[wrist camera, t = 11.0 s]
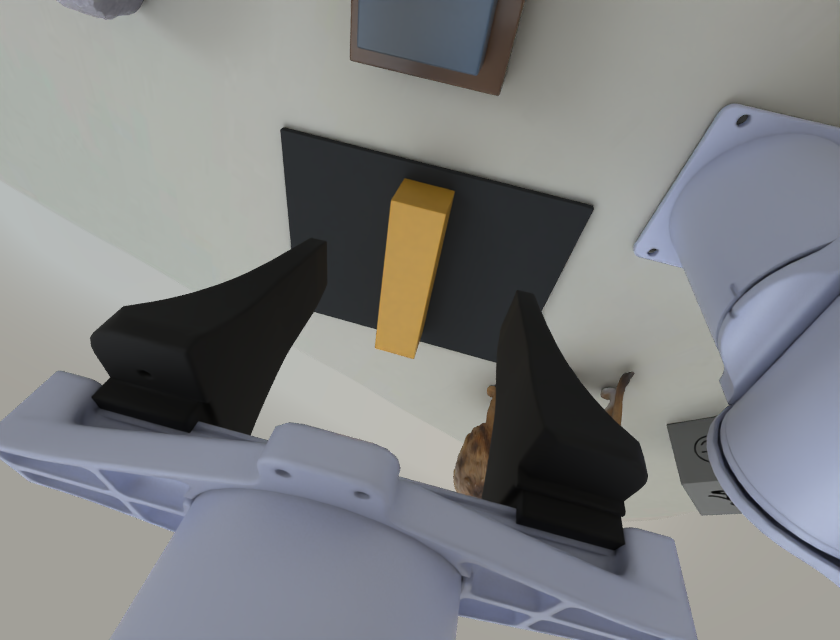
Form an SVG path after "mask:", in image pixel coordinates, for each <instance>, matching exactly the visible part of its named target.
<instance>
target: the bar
mask: <svg viewBox="0 0 840 640" xmlns="http://www.w3.org/2000/svg"><path fill="white" fill-rule="evenodd" d="M454 193H455V191H453V190H449V189H445V188H441V187H437V186H433V185H429V184H425V183H422V182H418V181H414V180H410V179H406V178H404V180H403V182H402V183H401V185H400V187H399V188H398V190H397V191H396V193H395V195H394V196H393V198H392V200H391V206H390V215H389V224H388V233H387V242H386V251H385V260H384V269H383V278H382V287H381V296H380V305H379V315H378V324H377V333H376V342H375V348H376V349H380V350H383V351H387V352H391V353H394V354H398V355H401V356H405V357H408V358H412V359H414V357H415V354H416V351H417V348H418V345H419V342H420V339H421V336H422V332H423V328H424V324H425V319H426V315H427V311H428V306H429V302H430V298H431V293H432V289H433V285H434V280H435V276H436V272H437V267H438V263H439V259H440V254H441V250H442V246H443V241H444V237H445V233H446V228H447V224H448V219H449V215H450V211H451V206H452V202H453V198H454Z"/></svg>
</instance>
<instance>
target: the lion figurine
mask: <svg viewBox="0 0 840 640" xmlns="http://www.w3.org/2000/svg"><path fill="white" fill-rule="evenodd" d="M633 375H634V372H628V373H624V374H623V375H622V376H621V378H620V380H619V382H618V385H617V389H615V388H604V389H602V391H601V397H602V398H604V399H607V400H610V403H609V404H608V406H607V407H606V408H605V409H604V410H605V411H606V412H607V413H608V414H609V415H610V416H611V417H612V418H613V419H614V420H615V421H616V422H617V423H618V424H619V425H620V426H621V418H622V401H623V394H624V391H625V388H626V386H627V385H628V383H629V381H630V379H631V378H632V377H633ZM487 394H488V395H489V396H490V397H493V398H492V400H491V403H490V406H489V409H488V412H487V419H486V423H482V424H481V425H480V426H477V427H474V428H473V430H472V432H471V433H469V434H468V435H467V436H466V438H465V441H464V444H463V446H462V448H461V451H460V453H459V455H458V459H457V462H456V466H455V469H454V476H453V478H454V485H455V489H456V491H457V492H458V493H461V494H465V495H468V496H472V497H476V498H479V499H481V498H482V492H483V487H484V481H485V475H486V469H487V463H488V457H489V450H490V444H491V437H492V430H493V422H494V415H495V403H496V387H495V386H489V387H488V388H487Z"/></svg>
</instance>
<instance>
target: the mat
mask: <svg viewBox="0 0 840 640" xmlns="http://www.w3.org/2000/svg"><path fill="white" fill-rule="evenodd" d="M280 131H281V142H282V153H283V164H284V174H285V185H286V196H287V207H288V218H289V229H290V239H291V249H292V248H294V247H295V246H297V245H299V244H301V243H302V242H304V241H306V240H307V239H309V238H315V239H319V240H323V241H327V286H326V288H325V291H324V293H323V295H322V297H321V299H320V302H319V304H318V306H317V307H316V309H315V311H314V312H317V313H320V314H324V315H327V316H331V317H334V318H338V319H342V320H345V321H349V322H352V323H356V324H360V325H363V326H367V327H370V328H374V329H377V324H378V315H379V305H380V296H381V287H382V278H383V269H384V260H385V251H386V242H387V233H388V224H389V215H390V206H391V200H392V198H393V196H394V195H395V193H396V191H397V190H398V188H399V187H400V185H401V183H402V182H403V180H404V178H406V179H410V180H414V181H418V182H422V183H425V184H429V185H433V186H437V187H441V188H445V189H449V190H453V191H455V193H454V198H453V202H452V206H451V211H450V215H449V219H448V224H447V228H446V233H445V237H444V241H443V246H442V250H441V254H440V259H439V263H438V267H437V272H436V276H435V280H434V285H433V289H432V293H431V298H430V302H429V306H428V311H427V315H426V319H425V324H424V328H423V332H422V336H421V339H420V342H424V343H428V344H431V345H435V346H438V347H442V348H446V349H449V350H453V351H456V352H460V353H463V354H467V355H471V356H474V357H478V358H481V359H485V360H489V361H492V362H496V363H497V348H498V341H499V335H500V329H501V326H502V324H503V321H504V319H505V317H506V314H507V312H508V310H509V307H510V305H511V303H512V301H513V298H514V296H515V294H516V291H517V290H521V291H525V292H529V293H533V294H534V295H535V297H536V300H537V302H538V305H539V307H540V310H541V311H542V309H543V307H544V305H545V303H546V301H547V299H548V297H549V295H550V293H551V292H552V290H553V288H554V286H555V284H556V282H557V280H558V278H559V276H560V274H561V272H562V270H563V268H564V266H565V264H566V262H567V260H568V258H569V256H570V255H571V253H572V251H573V249H574V247H575V245H576V243H577V241H578V239H579V237H580V235H581V233H582V231H583V229H584V227H585V225H586V223H587V221H588V219H589V217H590V216H591V214H592V212H593V210H594V207H593V206H592V205H588V204H585V203H581V202H577V201H573V200H569V199H565V198H561V197H557V196H553V195H549V194H545V193H541V192H537V191H533V190H529V189H525V188H521V187H517V186H513V185H509V184H505V183H501V182H497V181H494V180H490V179H486V178H482V177H478V176H474V175H470V174H466V173H462V172H458V171H454V170H450V169H446V168H442V167H438V166H434V165H430V164H426V163H422V162H418V161H414V160H410V159H406V158H403V157H399V156H395V155H391V154H387V153H383V152H379V151H375V150H371V149H367V148H363V147H359V146H355V145H351V144H347V143H343V142H339V141H335V140H331V139H327V138H323V137H319V136H315V135H312V134H308V133H304V132H300V131H296V130H292V129H288V128H282V129H281V130H280Z"/></svg>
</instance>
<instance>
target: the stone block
mask: <svg viewBox="0 0 840 640" xmlns="http://www.w3.org/2000/svg"><path fill="white" fill-rule="evenodd" d="M57 1H58V2H59V3H61V4H62V5H63V6H65V7H68V8H70V9H73V10H76V11H79V12H81V13H85V14H88V15H91V16H94V17H97V18H103V19H113V18H115V17H117V16H120V15H130V14H132V13H135V12H136V11H137V10H138V9H139V8H140V6H141V4H142V2H143V0H57Z"/></svg>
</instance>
